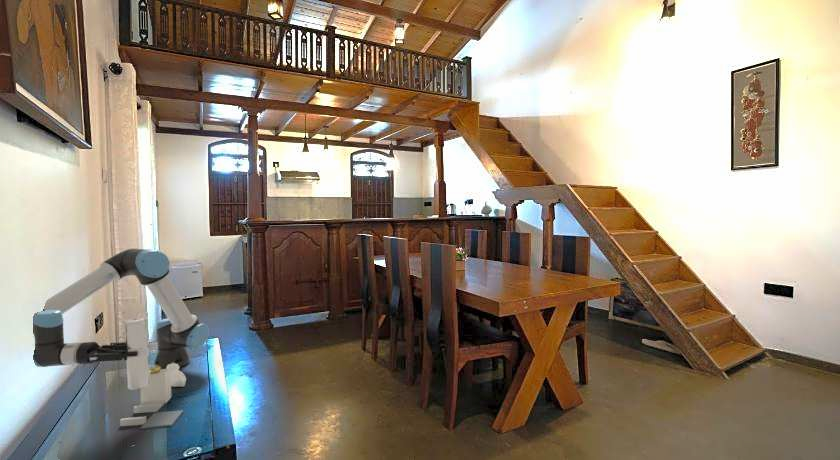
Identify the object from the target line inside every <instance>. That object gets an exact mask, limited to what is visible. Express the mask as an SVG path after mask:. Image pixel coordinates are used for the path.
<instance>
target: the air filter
mask: <svg viewBox="0 0 840 460" xmlns="http://www.w3.org/2000/svg"><path fill="white" fill-rule="evenodd" d="M124 334H125V337H124V338H125V342H126V351H127V352H128V350H133V349H143V348H148V343H149V342H148V324H147V320H146V319H145V318H144V317H133V318H128V319H126V320H125V323H124ZM149 366H150V365H149V356H144V357H127V360H126V376H127V389H128V390H131V391H133V390H135V391H136V390H140V389H141V388H144V387H146V386H148V385H149V370H150V367H149Z"/></svg>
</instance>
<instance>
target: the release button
mask: <svg viewBox="0 0 840 460" xmlns="http://www.w3.org/2000/svg"><path fill="white" fill-rule="evenodd" d="M149 370H150V373H157V372H159V371H160V370H161V367H160V366H159V365H157V366H154V365H152V366H150V367H149Z"/></svg>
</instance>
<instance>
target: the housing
mask: <svg viewBox="0 0 840 460" xmlns="http://www.w3.org/2000/svg"><path fill="white" fill-rule="evenodd" d="M139 390H140V392H139V393H140V404H139V405H134V406H133V414H143V413H145V414H146V413H156V412H159V410H160V409H161V408H162V406H163V405H165V404H167V403H168V402H169V401H170V399H171V398H172V386H171V372H170V369H161V370H160V371H159V372H157V373H150V369H149V385H148V386H146V387H144V388H141V389H139ZM146 421H147V416H146V415H145V416H133V417H126V418H121V419H119V423H120V426H121V427H129V426H140V425H143V424H144V423H145V422H146ZM120 426H119V427H120Z"/></svg>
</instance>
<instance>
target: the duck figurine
mask: <svg viewBox="0 0 840 460" xmlns="http://www.w3.org/2000/svg"><path fill="white" fill-rule="evenodd" d="M180 368H181V367H179V365H178V364H176V363H171V364H169V365H167V367H166V369H170V372H171V388H176V387H181V388H183V387H185V385H186V381H187V377H186V375H185V374H184V373H183V372H182V371H181V370H179V369H180Z"/></svg>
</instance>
